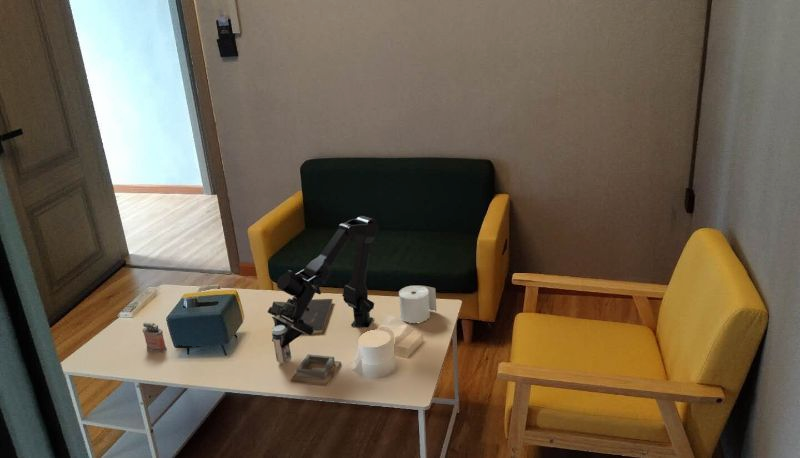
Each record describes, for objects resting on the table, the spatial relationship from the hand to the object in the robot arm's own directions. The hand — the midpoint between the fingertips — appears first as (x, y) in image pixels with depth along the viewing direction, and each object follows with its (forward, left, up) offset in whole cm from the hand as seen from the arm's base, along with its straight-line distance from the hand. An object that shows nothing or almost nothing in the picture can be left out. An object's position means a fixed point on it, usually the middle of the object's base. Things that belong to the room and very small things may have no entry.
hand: (277, 344), depth 198 cm
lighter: (-1, -48, -8) cm, 49 cm away
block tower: (-22, -44, -8) cm, 50 cm away
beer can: (-1, +1, -7) cm, 7 cm away
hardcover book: (-30, -4, -8) cm, 32 cm away
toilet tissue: (-38, +36, -8) cm, 53 cm away
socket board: (+2, +14, -7) cm, 16 cm away
